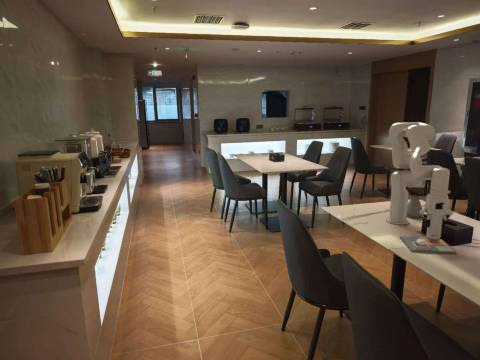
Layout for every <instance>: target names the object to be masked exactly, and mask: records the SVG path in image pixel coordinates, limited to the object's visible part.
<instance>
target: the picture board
mask: <svg viewBox="0 0 480 360" xmlns="http://www.w3.org/2000/svg"><path fill="white" fill-rule="evenodd" d="M399 239H400V240H401V242H403V244H404V245H405V246H406V247H407V248H408V249H409V251H410V252H412V253H427V254H428V253H429V254H446V255H447V254H449V255H450V254H452V255H453V254H454V255H456V254H457V251H456V250H455V249H454V248H452V246H450V245H449V244H448V243H447V242H445V241H444V240H443V239H442V238H441V239H440V240H439V241H432V240H429V239H427V238H426V236H399ZM417 239H423V240H426V245H425V246H420V245H417V244H416V243H417Z"/></svg>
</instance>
